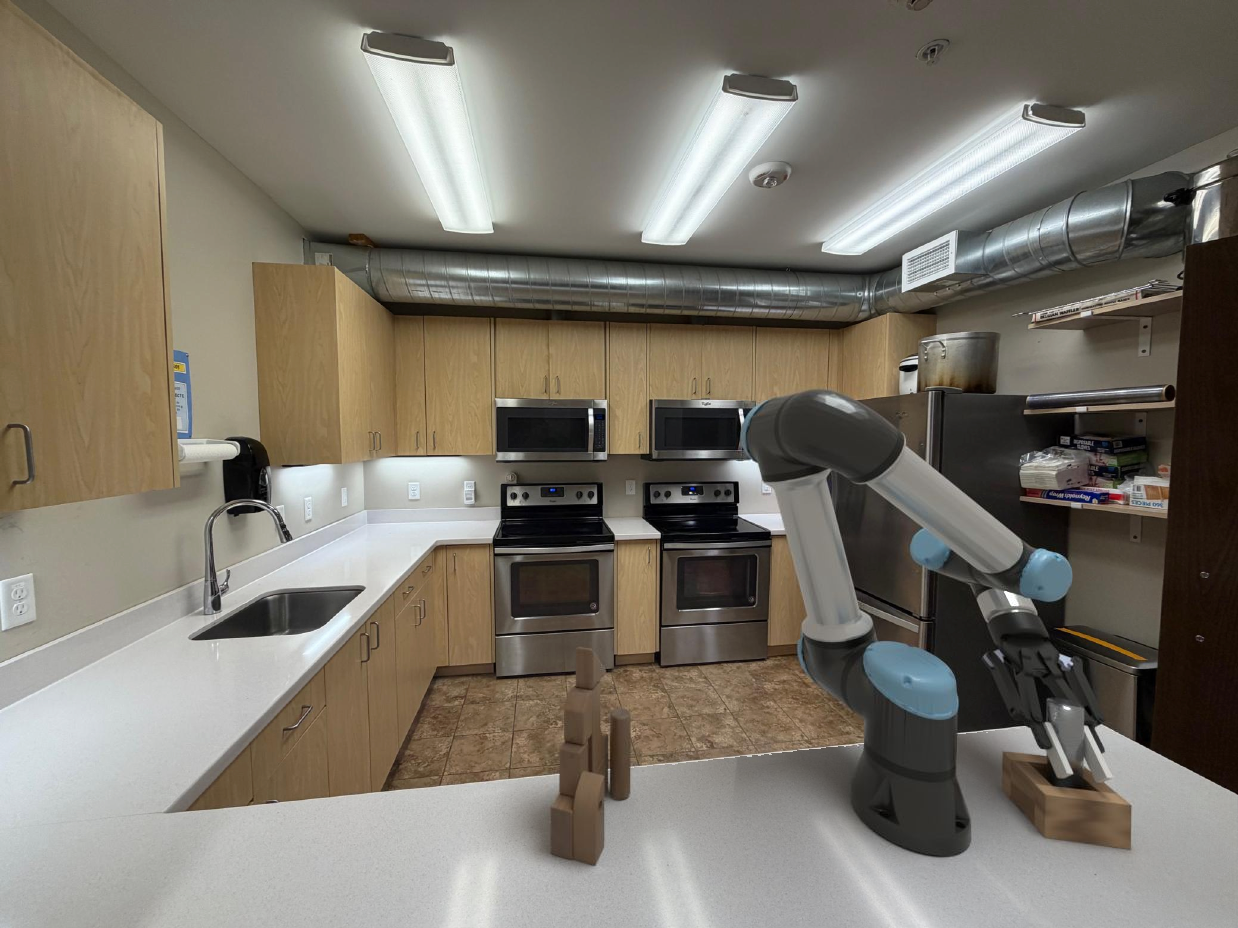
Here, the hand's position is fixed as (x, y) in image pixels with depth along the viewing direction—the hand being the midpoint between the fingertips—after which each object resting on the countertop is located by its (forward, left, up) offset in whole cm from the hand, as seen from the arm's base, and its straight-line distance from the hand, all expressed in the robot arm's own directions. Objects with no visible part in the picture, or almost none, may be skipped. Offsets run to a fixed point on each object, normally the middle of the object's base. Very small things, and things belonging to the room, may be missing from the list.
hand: (1084, 777), depth 66 cm
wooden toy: (-68, -10, -8) cm, 69 cm away
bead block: (-1, +4, -8) cm, 9 cm away
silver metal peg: (0, +4, -4) cm, 5 cm away
